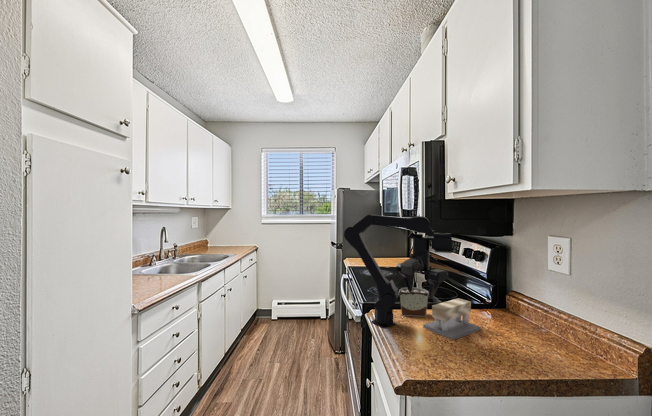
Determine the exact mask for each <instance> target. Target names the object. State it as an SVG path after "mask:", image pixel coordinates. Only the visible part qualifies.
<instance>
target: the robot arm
mask: <svg viewBox="0 0 652 416" xmlns="http://www.w3.org/2000/svg"><path fill="white" fill-rule="evenodd" d="M371 226H380V227H381V226H382V227H391V228H401V229H405V230H407V231H411V232H410V234H409V235H407V239H412V253H409V257H408V259H406V260H404V261H403V262H399V263H397V264H396V268H395V269H396V270H395V271H396V272H398V274H400V275H401V276H402V277H403V279H404V281H405V284H406V287H407V288H408V291H409V292H412V288H413V286H414V280H415V274H420V275H425V276H427V278H428V279H426V281H427V282H428V285H429V286H428V292H429V296H428V298H429V299H430V300H432V299H433V298H434V296H435V295H436V293H437V291H438V288H439V287H440V285H441V284H442V282H446V281H445V280H449V273H448V271H447V270H443V269H439V268H435V269H432V266H431V265H430V258H432V257H433V255H432V254H430V248H431V250H433V251H434V253H441V254H442V253H444V254H452V253H453V246H454V245H453V238H452V236H453V235H452V233H450V232H449V233H448V232H447V233H435V230H433V229H432V228H431V223H430V221H429V219H428V218H427V217H425V216H422V215H419V216H408V217H407V216H406V217H401V216H398V217H397V216H388V215H387V216H386V215H378V214H377V215H376V214H372V213H371V214H366V215H365V216H364V217H363V218H362V219H360V220H359V221H357V223H355V224H353V225H352V226H348V227H346V228H345V230H344V234H343V236H344V239H345V240H346V241H347V243H348V244H349V245H350V246H351V247H352V248H353V249H354V250H355V251H356V253H358V256H359V257H360V260H361V261H362V263H363V265H364V266H365V268H366V269H367V271H368V273H369V275H370V277H371V278H372V280H373V281H374V283H375V286H376V289H377V294H378V296H377V299H376V300H375V301H374V305H373V306H374V319H373V320H371V323H373V324H374V325H377V326H379V327H380V328H383V329H384V328H388V327H391V326H392V327H393V326H394V325H396V322H395V321H394V310H393V308H392V306H394V305H395V304H396V303H397V300H398V297H399V296H398V294H399V287H397V286H396V285H395V282H394V280H393V279H391V280H389V279H387V278H386V276H385V274H384V273H383V271H382V269H381V268H380V266H379V264H378V263H377V261H376V259H375V258H374V255H373V254H372V252H371V251H370V249H369V247H368V246H367V243H366V239H365V236H364V232H365V231H367V230H368V229H369V228H370V227H371ZM414 232H415V233H414ZM424 234H425V235H426V236H424ZM430 240H431V242H430ZM430 243H431V244H430ZM430 245H431V247H430Z"/></svg>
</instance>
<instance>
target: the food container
mask: <svg viewBox="0 0 652 416" xmlns="http://www.w3.org/2000/svg"><path fill="white" fill-rule="evenodd" d="M398 297H399V300H400V311H401V312H400V313H401V316H403V317H404V316H406V317H407V316H408V317H427V311H428V301H429V290H427V289H424V288H421V287H413V288H412V292H409V291H408V288H407V286H406V287H401V288H400V289H399V290H398Z"/></svg>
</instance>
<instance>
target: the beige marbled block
mask: <svg viewBox="0 0 652 416" xmlns="http://www.w3.org/2000/svg"><path fill="white" fill-rule="evenodd" d="M471 311H472V301H469V300H466V299H463V298H458V297H457V298H454V299H451V300H448V301H443V302H441V303H436V304H433V305H432V306H431V317H432V318H434V319H435V318H436V319H439V320H442V321H448V320H451V319H454V318H456V317H459V316H461V317H463V315H465V314H468V313H469V314H470V313H471Z"/></svg>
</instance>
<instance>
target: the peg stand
mask: <svg viewBox="0 0 652 416" xmlns="http://www.w3.org/2000/svg"><path fill="white" fill-rule="evenodd" d="M469 314H470V313H468V314H465V315H462V316H459V317H456V318H454V319H451V320H448V321H442V320H439V319H436V318H434V321H430V322H428V323H424V324H423V325H422V327H423V328H424V329H426V330H428V331H431V332H433V333H435V334H437V335H440V336H442V337H446V338H448V339H450V340H452V341H454V340H457V339H459V338H462V337H465V336H468V335H470V334H473V333H476V332H478V331H481V329H482V328H481V326H479V325H476V324H473V323H470V322H469V319H470V318H469V317H470V315H469Z"/></svg>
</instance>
